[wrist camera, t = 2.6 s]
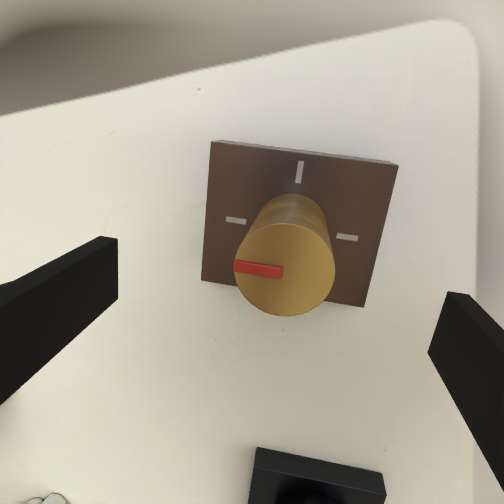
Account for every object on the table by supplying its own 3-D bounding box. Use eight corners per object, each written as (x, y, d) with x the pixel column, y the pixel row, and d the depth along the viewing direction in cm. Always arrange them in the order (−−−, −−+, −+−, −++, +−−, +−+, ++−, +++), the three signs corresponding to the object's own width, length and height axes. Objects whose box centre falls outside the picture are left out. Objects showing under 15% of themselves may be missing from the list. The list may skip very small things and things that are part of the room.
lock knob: (332, 198, 24) (345, 233, 16) (319, 266, 25) (325, 327, 17) (260, 188, 24) (237, 216, 16) (252, 255, 26) (227, 310, 18)
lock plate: (388, 161, 25) (399, 165, 22) (358, 290, 29) (364, 309, 26) (221, 139, 26) (210, 141, 23) (210, 266, 30) (200, 281, 27)
